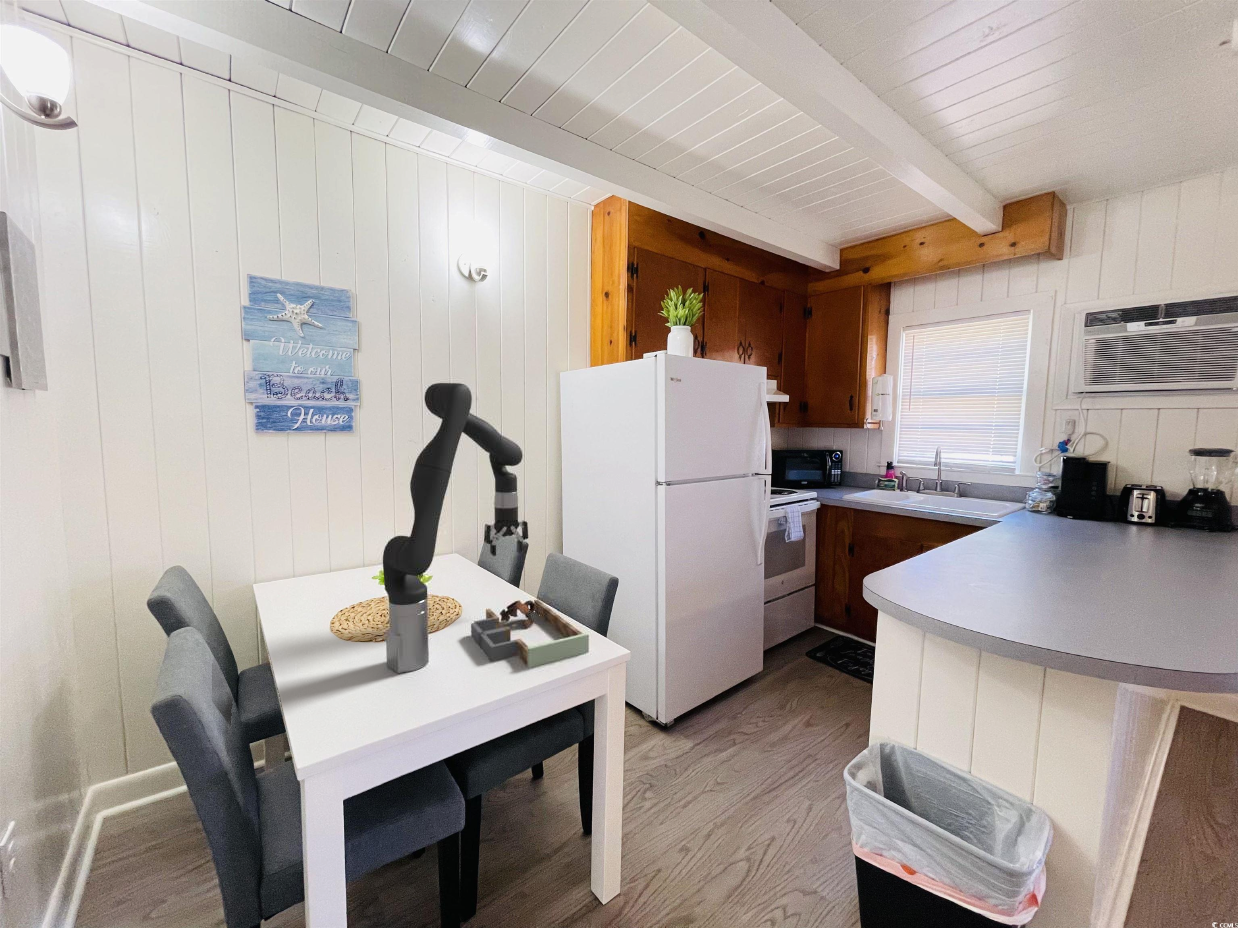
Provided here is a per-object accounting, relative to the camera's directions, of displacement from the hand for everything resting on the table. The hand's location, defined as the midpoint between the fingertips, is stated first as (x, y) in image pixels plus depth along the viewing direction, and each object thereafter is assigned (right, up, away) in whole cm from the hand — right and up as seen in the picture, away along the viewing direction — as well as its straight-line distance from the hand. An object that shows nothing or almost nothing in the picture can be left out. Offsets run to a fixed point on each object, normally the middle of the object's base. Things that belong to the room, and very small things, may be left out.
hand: (506, 553), depth 166 cm
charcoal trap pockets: (+1, -21, -24) cm, 32 cm away
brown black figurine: (+6, -21, -8) cm, 23 cm away
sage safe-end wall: (+21, -22, -32) cm, 44 cm away
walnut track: (+12, -21, -17) cm, 29 cm away
